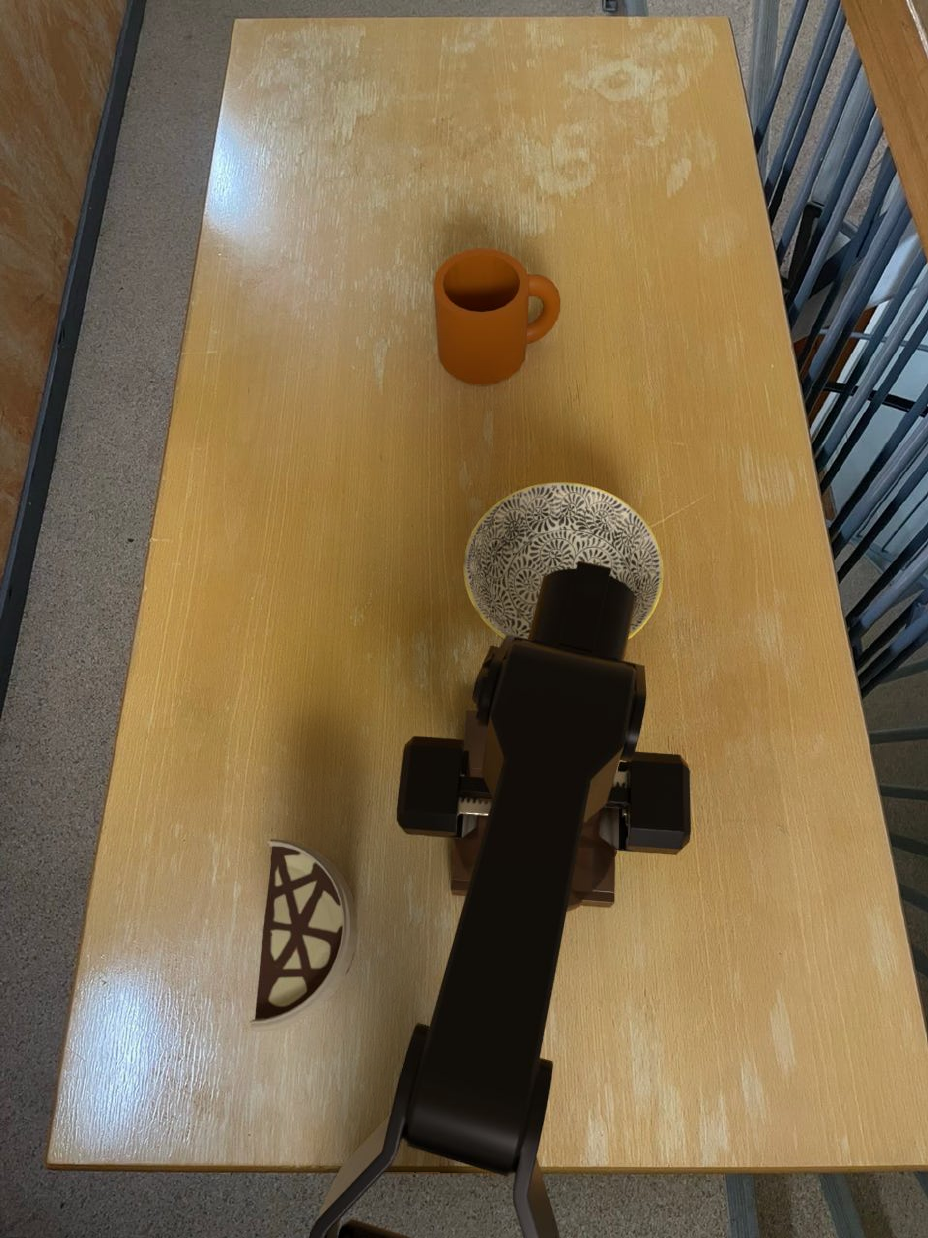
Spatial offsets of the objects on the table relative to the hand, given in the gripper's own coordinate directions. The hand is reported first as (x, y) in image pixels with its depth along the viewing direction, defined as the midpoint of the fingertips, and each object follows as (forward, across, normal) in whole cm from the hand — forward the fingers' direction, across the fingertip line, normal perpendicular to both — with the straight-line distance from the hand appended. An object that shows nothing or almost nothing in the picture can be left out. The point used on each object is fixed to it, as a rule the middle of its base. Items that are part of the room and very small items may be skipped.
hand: (536, 822), depth 68 cm
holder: (+4, 0, -2) cm, 5 cm away
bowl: (+5, -1, -20) cm, 20 cm away
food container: (+5, +15, +9) cm, 18 cm away
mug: (+5, +6, -48) cm, 48 cm away
